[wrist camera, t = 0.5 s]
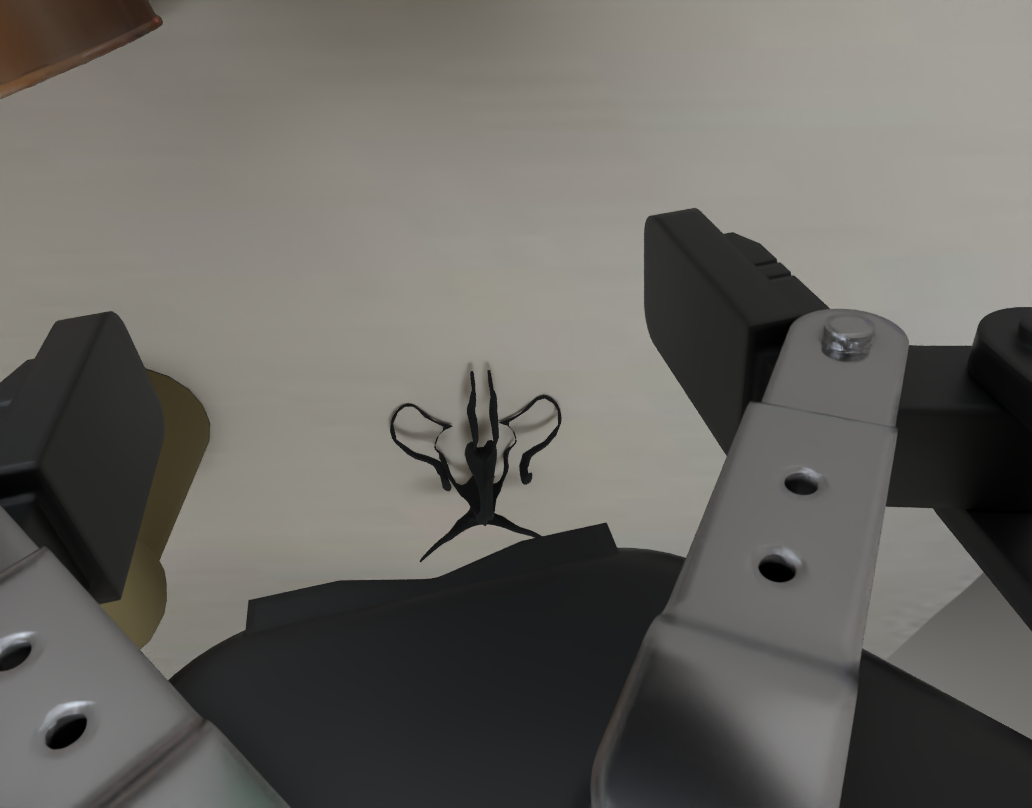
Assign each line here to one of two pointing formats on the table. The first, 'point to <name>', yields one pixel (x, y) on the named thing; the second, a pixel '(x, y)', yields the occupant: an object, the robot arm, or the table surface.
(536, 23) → the table surface
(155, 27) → the tin
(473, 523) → the creature
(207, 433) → the cork
